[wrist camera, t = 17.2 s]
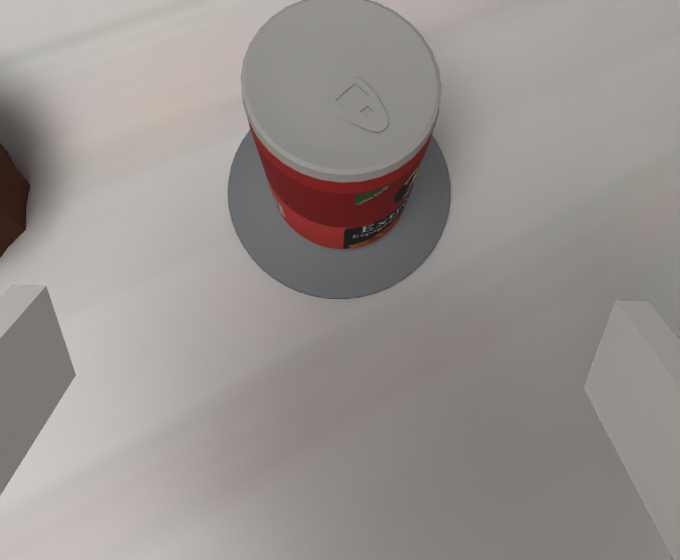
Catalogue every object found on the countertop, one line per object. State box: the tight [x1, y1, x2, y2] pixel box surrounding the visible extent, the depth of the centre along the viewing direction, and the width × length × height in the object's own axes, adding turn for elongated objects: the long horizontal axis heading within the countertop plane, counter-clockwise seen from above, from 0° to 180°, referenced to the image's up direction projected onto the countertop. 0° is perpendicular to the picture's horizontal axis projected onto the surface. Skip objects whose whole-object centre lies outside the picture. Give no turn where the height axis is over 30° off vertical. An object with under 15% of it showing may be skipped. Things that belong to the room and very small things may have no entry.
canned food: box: [241, 0, 441, 249], centre depth 26 cm, size 8×8×11 cm
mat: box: [228, 129, 450, 299], centre depth 31 cm, size 13×13×1 cm
